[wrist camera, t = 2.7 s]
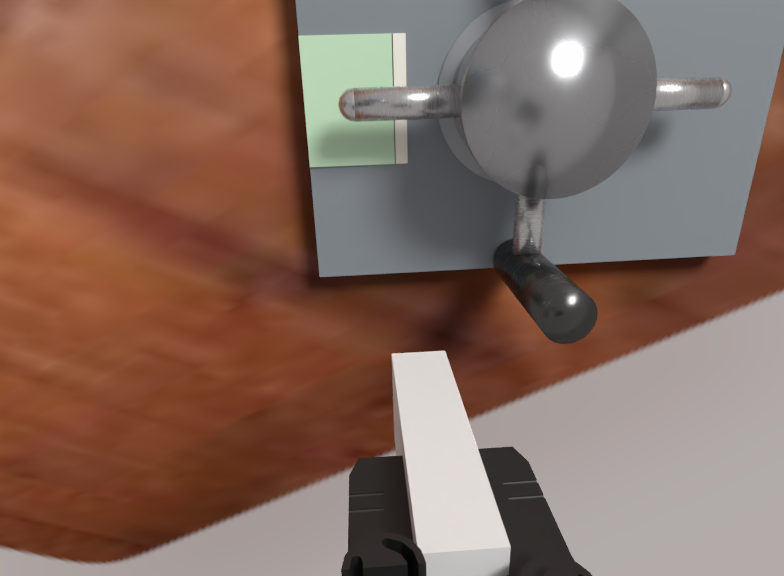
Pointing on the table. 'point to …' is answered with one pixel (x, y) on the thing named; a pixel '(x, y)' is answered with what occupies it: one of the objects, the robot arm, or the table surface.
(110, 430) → the table surface
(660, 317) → the table surface
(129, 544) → the table surface
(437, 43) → the stand plate
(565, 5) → the cam capstan
